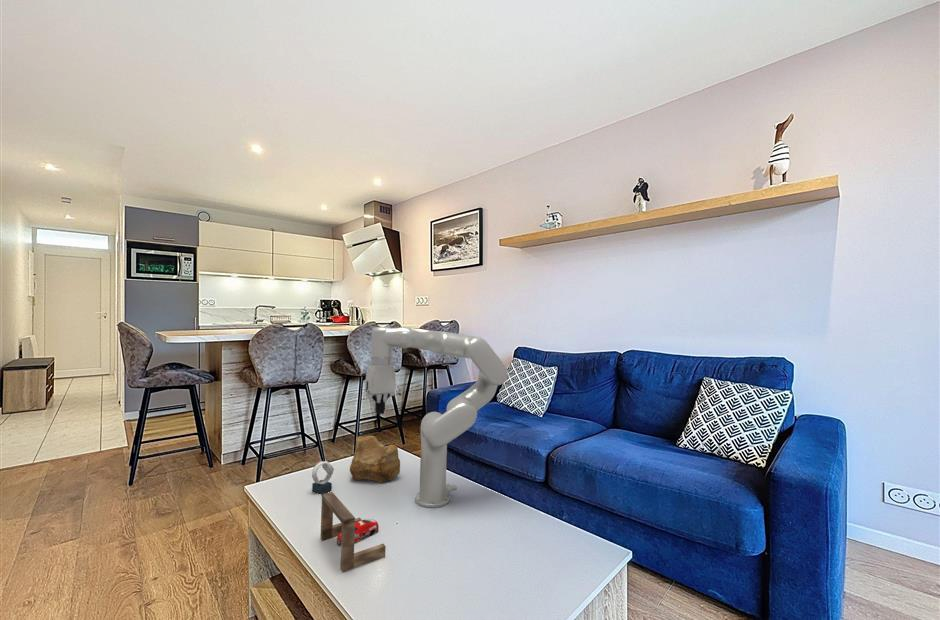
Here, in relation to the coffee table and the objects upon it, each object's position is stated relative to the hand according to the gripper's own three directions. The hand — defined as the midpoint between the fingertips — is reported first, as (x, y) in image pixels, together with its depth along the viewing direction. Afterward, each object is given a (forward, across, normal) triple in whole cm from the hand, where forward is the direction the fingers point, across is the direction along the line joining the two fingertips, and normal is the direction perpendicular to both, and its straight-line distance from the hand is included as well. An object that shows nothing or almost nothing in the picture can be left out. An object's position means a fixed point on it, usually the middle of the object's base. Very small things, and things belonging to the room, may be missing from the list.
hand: (379, 413), depth 142 cm
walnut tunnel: (+32, +17, +21) cm, 42 cm away
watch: (+32, +13, -21) cm, 41 cm away
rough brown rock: (+32, -7, -24) cm, 41 cm away
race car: (+33, +13, +16) cm, 39 cm away
